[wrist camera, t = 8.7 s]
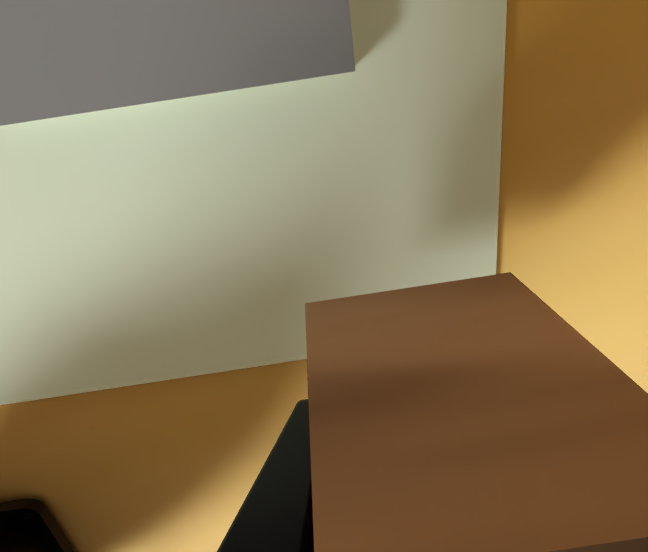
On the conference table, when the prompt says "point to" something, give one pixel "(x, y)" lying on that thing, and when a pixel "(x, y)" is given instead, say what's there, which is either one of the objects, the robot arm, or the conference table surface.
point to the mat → (250, 207)
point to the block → (470, 426)
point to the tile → (160, 50)
